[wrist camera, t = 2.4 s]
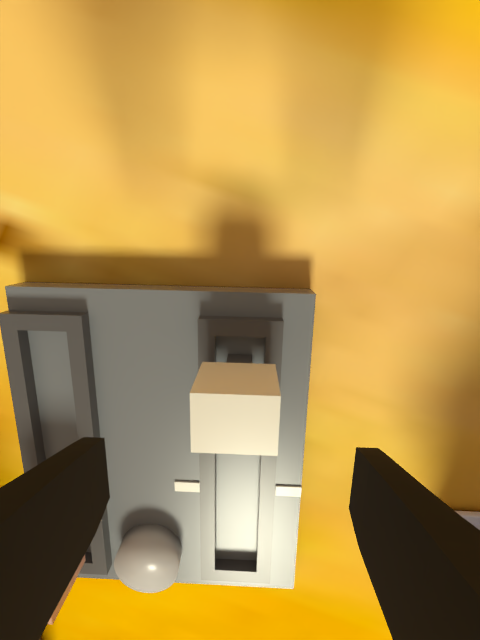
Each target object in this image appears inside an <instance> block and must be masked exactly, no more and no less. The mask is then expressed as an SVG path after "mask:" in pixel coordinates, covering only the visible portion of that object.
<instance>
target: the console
mask: <svg viewBox="0 0 480 640" xmlns="http://www.w3.org/2000/svg"><path fill="white" fill-rule="evenodd" d="M5 289H6V296H7V302H8V308H9V310H8V311H5V312H2V313H0V327H1V333H2V339H3V345H4V351H5V358H6V364H7V370H8V376H9V382H10V388H11V394H12V401H13V407H14V413H15V419H16V425H17V431H18V437H19V443H20V450H21V456H22V462H23V468H24V473H25V472H27V471H29V470H30V469H32V468H33V467H35V466H37V465H38V464H40V463H42V462H43V461H45V460H46V459H48V458H49V457H51V456H53V455H54V454H56V453H57V452H59V451H61V450H62V449H64V448H65V447H67V446H69V445H70V444H72V443H74V442H75V441H77V440H79V439H81V438H83V437H98V438H105V449H106V460H107V470H108V481H109V492H110V499H109V501H108V504H107V507H106V509H105V512H104V514H103V517H102V519H101V522H100V524H99V527H98V529H97V532H96V534H95V536H94V538H93V540H92V542H91V544H90V546H89V547H88V549H87V551H86V553H85V560H86V561H85V563H84V564H83V566H82V568H81V570H80V572H79V574H78V576H77V577H83V578H102V579H120V580H121V581H122V582H123V583H124V584H125V585H126V586H128V587H129V588H131V589H133V590H136V591H139V592H144V593H155V592H160V591H163V590H165V589H167V588H168V587H170V586H171V585H172V584H173V583H174V582H176V583H195V584H213V585H232V586H250V587H269V588H288V589H294V577H295V563H296V550H297V537H298V523H299V510H300V497H301V488H302V487H301V483H302V470H303V457H304V443H305V430H306V417H307V404H308V390H309V377H310V364H311V350H312V337H313V324H314V310H315V297H316V294H315V293H314V292H313V291H312V290H311V289H289V288H248V287H207V286H166V285H125V284H84V283H43V282H23V283H18V284H14V285H9V286H5ZM228 354H241V355H252V363H256V364H275V365H276V371H277V376H278V382H279V388H280V394H281V403H280V422H279V441H278V456H265V455H241V454H216V453H192V452H191V436H190V391H191V388H192V386H193V383H194V381H195V378H196V376H197V374H198V371H199V369H200V366H201V364H202V362H224V363H226V362H227V357H228Z"/></svg>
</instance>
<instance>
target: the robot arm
mask: <svg viewBox="0 0 480 640" xmlns="http://www.w3.org/2000/svg"><path fill="white" fill-rule="evenodd" d="M109 499H110V492H109V481H108V470H107V460H106V449H105V438H98V437H83V438H81V439H79V440H77V441H75V442H74V443H72V444H70V445H69V446H67V447H65V448H64V449H62V450H61V451H59V452H57V453H56V454H54V455H53V456H51V457H49V458H48V459H46V460H45V461H43V462H42V463H40V464H38V465H37V466H35V467H33V468H32V469H30V470H29V471H27V472H25V473H24V474H22V475H21V476H19V477H17V478H16V479H14V480H13V481H11V482H9V483H8V484H6V485H4V486H2V487H1V488H0V640H39V639H40V637H41V635H42V633H43V631H44V629H45V627H46V625H47V624H48V622H49V620H50V618H51V616H52V614H53V612H54V611H55V609H56V607H57V605H58V603H59V601H60V600H61V598H62V596H63V594H64V592H65V590H66V588H67V587H68V585H69V583H70V581H71V579H72V577H73V575H74V574H75V572H76V570H77V568H78V566H79V564H80V562H81V561H82V559H83V557H84V555H85V553H86V551H87V549H88V547H89V546H90V544H91V542H92V540H93V538H94V536H95V534H96V532H97V529H98V527H99V524H100V522H101V519H102V517H103V514H104V512H105V509H106V507H107V504H108V501H109ZM349 510H350V514H351V518H352V522H353V527H354V531H355V534H356V538H357V542H358V546H359V549H360V552H361V555H362V557H363V560H364V563H365V566H366V568H367V571H368V574H369V576H370V579H371V582H372V585H373V587H374V590H375V593H376V595H377V598H378V601H379V603H380V606H381V609H382V611H383V614H384V617H385V619H386V622H387V625H388V627H389V630H390V633H391V636H392V638H393V640H480V512H471V511H454V510H453V509H451V508H450V507H449V506H448V505H446V504H445V503H444V502H443V501H441V500H440V499H439V498H438V497H436V496H435V495H434V494H433V493H432V492H430V491H429V490H428V489H427V488H425V487H424V486H423V485H422V484H421V483H419V482H418V481H417V480H416V479H415V478H414V477H412V476H411V475H410V474H409V473H408V472H406V471H405V470H404V469H403V468H402V467H401V466H399V465H398V464H397V463H396V462H395V461H393V460H392V459H391V458H390V457H389V456H387V455H386V454H385V453H384V452H382V451H381V450H380V449H379V448H358V447H356V454H355V462H354V471H353V479H352V488H351V496H350V504H349Z"/></svg>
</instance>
